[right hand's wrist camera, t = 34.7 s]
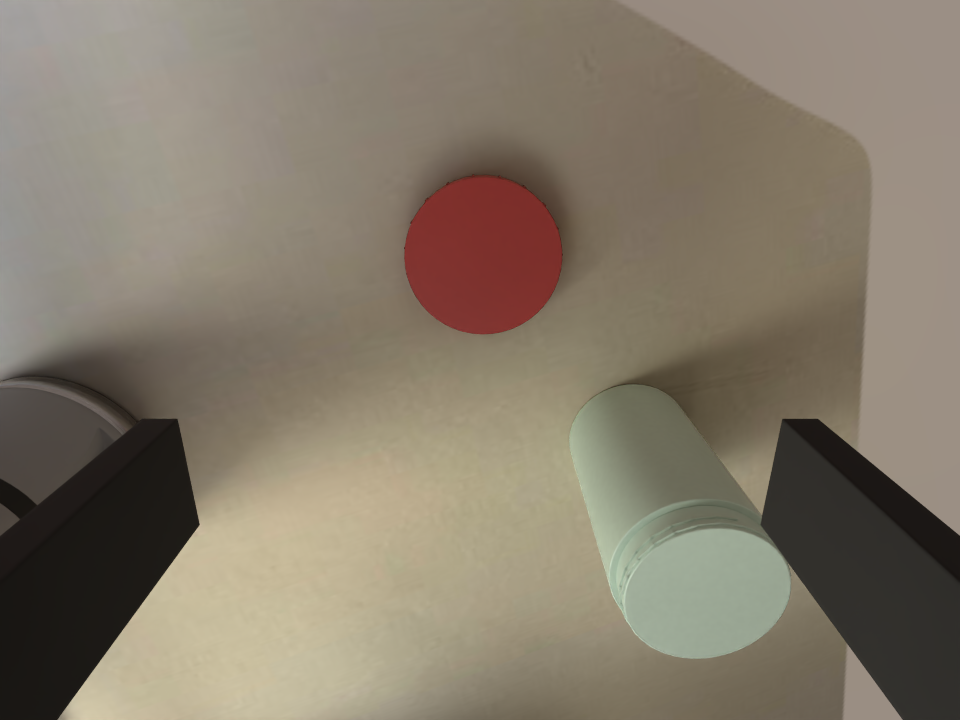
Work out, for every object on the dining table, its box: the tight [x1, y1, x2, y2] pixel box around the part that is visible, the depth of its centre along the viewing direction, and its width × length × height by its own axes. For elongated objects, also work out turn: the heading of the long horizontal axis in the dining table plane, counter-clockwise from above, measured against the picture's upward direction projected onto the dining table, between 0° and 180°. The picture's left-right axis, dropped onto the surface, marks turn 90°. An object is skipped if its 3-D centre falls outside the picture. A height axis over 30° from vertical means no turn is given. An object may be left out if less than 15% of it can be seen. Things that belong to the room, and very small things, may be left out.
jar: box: [569, 384, 791, 659], centre depth 35 cm, size 9×9×16 cm
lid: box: [404, 174, 563, 334], centre depth 36 cm, size 10×10×2 cm
